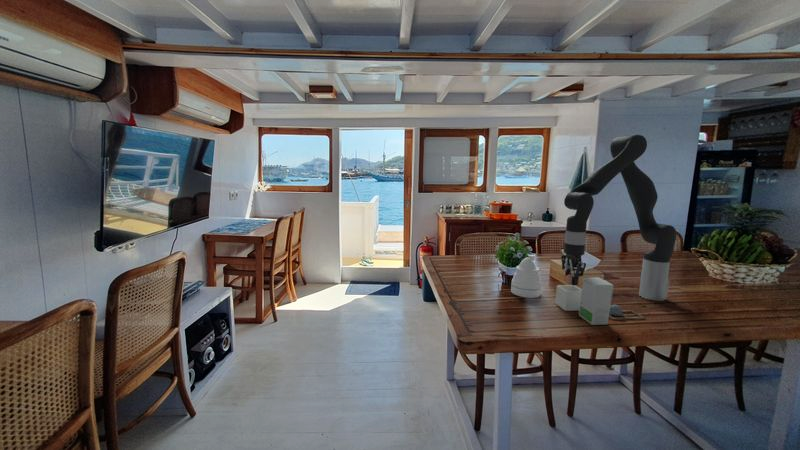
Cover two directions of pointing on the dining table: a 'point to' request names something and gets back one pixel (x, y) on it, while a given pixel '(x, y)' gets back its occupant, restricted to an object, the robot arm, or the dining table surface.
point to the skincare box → (595, 300)
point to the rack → (626, 316)
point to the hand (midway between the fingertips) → (570, 282)
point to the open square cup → (568, 297)
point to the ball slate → (615, 310)
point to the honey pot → (526, 279)
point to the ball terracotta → (568, 279)
